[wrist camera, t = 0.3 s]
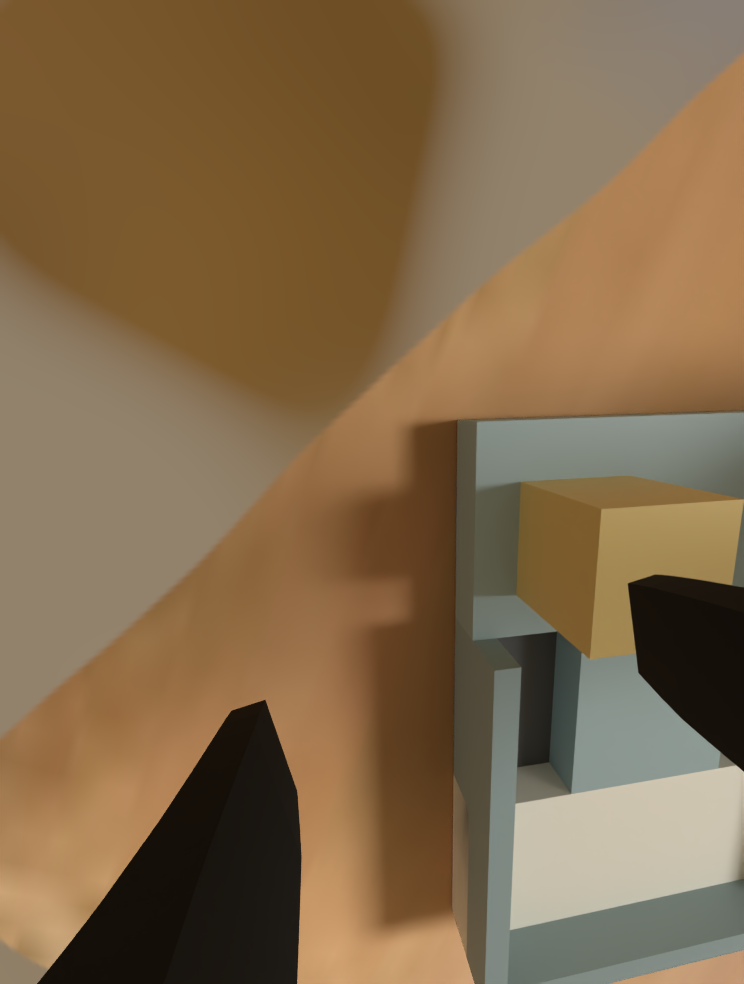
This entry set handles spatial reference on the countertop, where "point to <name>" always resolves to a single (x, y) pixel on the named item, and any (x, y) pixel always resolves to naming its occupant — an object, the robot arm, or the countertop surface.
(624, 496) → the ochre block
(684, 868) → the trap tray
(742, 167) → the countertop surface
